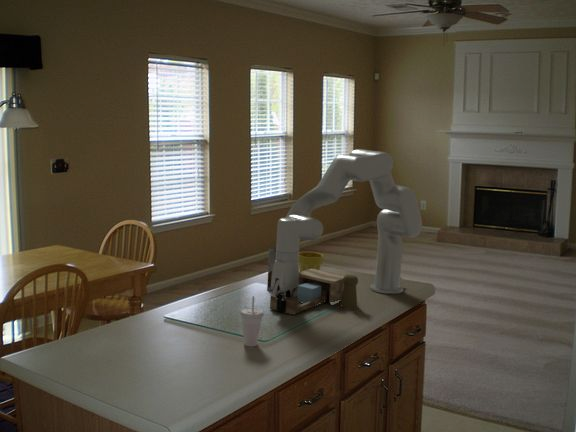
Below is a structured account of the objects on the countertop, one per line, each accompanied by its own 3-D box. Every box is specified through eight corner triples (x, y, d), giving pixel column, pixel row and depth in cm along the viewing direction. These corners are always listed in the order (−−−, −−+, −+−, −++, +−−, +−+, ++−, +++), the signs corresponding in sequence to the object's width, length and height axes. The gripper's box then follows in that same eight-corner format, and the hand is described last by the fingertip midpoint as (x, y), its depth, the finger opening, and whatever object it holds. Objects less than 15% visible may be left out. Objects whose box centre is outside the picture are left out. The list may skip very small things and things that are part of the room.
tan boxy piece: (309, 290, 245) (311, 268, 244) (347, 299, 237) (349, 276, 235) (294, 296, 237) (295, 273, 235) (332, 305, 228) (334, 281, 227)
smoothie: (241, 348, 181) (244, 299, 179) (237, 340, 187) (239, 293, 185) (264, 347, 183) (266, 299, 181) (259, 339, 189) (261, 292, 187)
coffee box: (294, 289, 246) (297, 247, 244) (290, 293, 240) (293, 250, 238) (271, 286, 248) (273, 244, 246) (266, 290, 242) (268, 247, 240)
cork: (357, 304, 231) (359, 274, 229) (357, 309, 225) (359, 278, 223) (339, 303, 231) (342, 272, 230) (339, 308, 225) (341, 276, 224)
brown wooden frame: (304, 296, 236) (304, 284, 235) (326, 301, 231) (327, 289, 230) (269, 308, 218) (270, 295, 218) (293, 315, 213) (294, 301, 213)
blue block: (306, 298, 234) (307, 282, 233) (320, 302, 231) (321, 285, 230) (296, 302, 229) (297, 285, 228) (311, 305, 226) (312, 288, 225)
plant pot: (319, 282, 258) (320, 258, 257) (293, 279, 260) (295, 255, 259) (323, 276, 268) (325, 253, 267) (299, 273, 270) (300, 250, 269)
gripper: (291, 250, 223) (288, 302, 226) (263, 257, 210) (260, 313, 212) (310, 254, 219) (306, 307, 222) (282, 261, 205) (279, 318, 208)
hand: (284, 309), depth 217 cm, fingers closed on brown wooden frame, 3 cm apart
